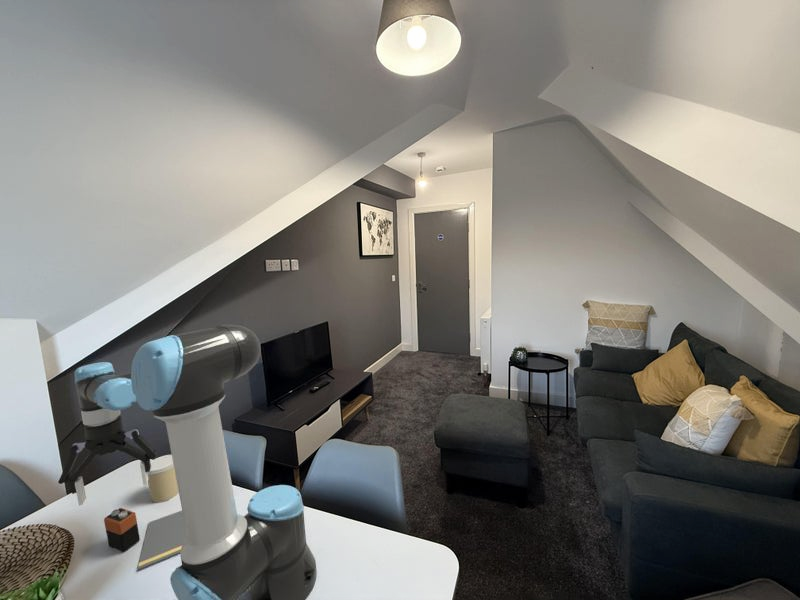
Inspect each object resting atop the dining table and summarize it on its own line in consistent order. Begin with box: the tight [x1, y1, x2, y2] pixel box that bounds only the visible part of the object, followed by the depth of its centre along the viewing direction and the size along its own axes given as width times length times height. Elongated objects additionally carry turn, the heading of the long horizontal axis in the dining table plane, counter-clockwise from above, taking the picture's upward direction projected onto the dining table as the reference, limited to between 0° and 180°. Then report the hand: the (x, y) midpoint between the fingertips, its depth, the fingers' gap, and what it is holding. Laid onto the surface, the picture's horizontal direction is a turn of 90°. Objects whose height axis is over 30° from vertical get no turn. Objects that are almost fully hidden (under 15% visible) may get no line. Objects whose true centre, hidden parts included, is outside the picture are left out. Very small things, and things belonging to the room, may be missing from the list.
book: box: [137, 510, 187, 572], centre depth 94 cm, size 18×14×1 cm
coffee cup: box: [147, 454, 179, 504], centre depth 110 cm, size 9×9×12 cm
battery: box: [103, 507, 141, 553], centre depth 91 cm, size 4×7×10 cm, turn 71°
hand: (115, 491), depth 90 cm, fingers open, 13 cm apart
